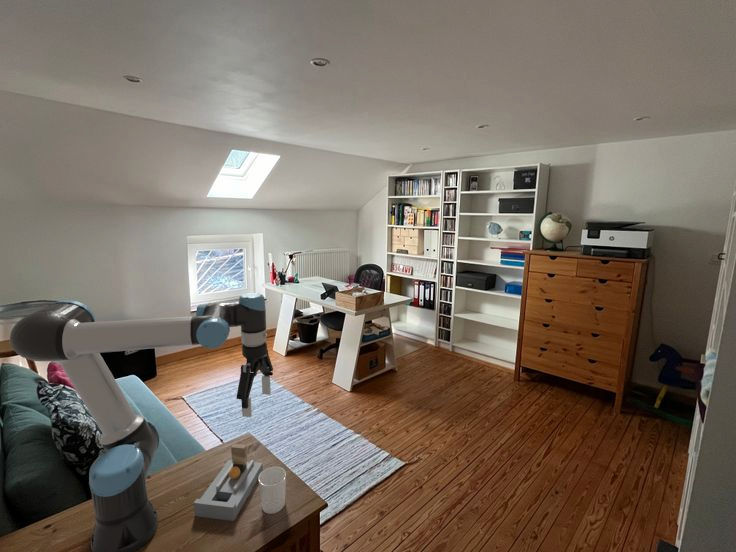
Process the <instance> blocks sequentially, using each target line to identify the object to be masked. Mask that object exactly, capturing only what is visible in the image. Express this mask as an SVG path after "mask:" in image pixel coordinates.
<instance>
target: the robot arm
mask: <svg viewBox="0 0 736 552" xmlns="http://www.w3.org/2000/svg"><path fill="white" fill-rule="evenodd" d="M265 300H266V299H265V296H264V295H263V294H261V293H259V292H257V293H256V292H249V293H243V294H241V295H240V296H239V299H238V301H230V302H229V301H228V302H215V303H214V302H208V303H202V304H199V305H197V306H196V311H195V316H193V315H192V316H191V315H190V316H175V317H172V316H171V317H158V318H157V317H155V318H142V319H141V318H140V319H125V320H108V321H107V320H106V321H96V316H95V314H94V312H93V310H92V309H91V308H90V307H89V306H88V305H86V304H85V303H82V302H79V301H76V300H71V299H64V300H59V301H56V302H55V301H54V302H52V303H51V302H50V303H49V304H47V305H44V307H41V308H40V309H38V310H36V311H34V312H31V313H29V314H28V315H26V316H24V317H22V318H21V319H19V320H18V321H17V322H16V323H15V325H14V326H12V329H11V331H10V334H9V342H10V346H11V348H12V350H13V351H14V352H15V353H16V354H17V355H19V357H21V358H24V359H26V360H29V361H34V362H52V363H58V364H59V365H60V366H61V368H62V370H63V371H64V373H65V375H66V377H67V378H68V380H69V381H70V382H71V384H72V386H73V387H74V389H75V391H76V392H77V394H78V396H79V397H80V399H81V401H82V402H83V404H84V405H85V407H86V408H87V410H88V411H89V413H90V415H91V417H92V419H93V420H94V422H95V423H96V425H97V426H98V428H99V429H100V432H102V434H101V437H100V440H99V442H100V444H101V446H102V448H103V449H104V451H105V453H101V454H100V455H99V456H98V457H97V458H96V459H95V460H94V461H93V463H92V464H91V465H90V468H89V473H88V476H89V477H88V480H89V481H88V485H89V488H90V493H91V499H92V504H93V511H94V516H95V523H94V527H93V531H92V535H91V538H90V548H91V552H136V551H138V550H139V549H140V548H142V547H143V546H144V545H146V544H147V543H148V542H149V541H150V539H151V538H152V537H154V534H155V533H156V531H157V529H158V526H159V518H158V512H157V510H156V509H155V508H154V506H153V504H152V503H151V501H150V500H149V497H148V490H147V482H146V481H147V479H146V478H147V476H148V472H149V470H150V467H151V464H152V462H153V460H154V457H155V455H156V452H157V450H158V448H159V444H160V439H161V438H160V437H161V436H160V435H161V434H160V433H161V432H160V430H159V428H158V426H157V425H156V423H154V422H153V421H151V420H147V419H146V418H145V417H144V415H141V414H135V411H134V410H133V409H132V407H131V404H130V403H129V401H128V399H127V398H126V396H125V394H124V392H123V391H122V389H121V388H120V386H119V384H118V382H117V381H116V379H115V377H114V375H113V373H112V371H111V370H110V369H109V367H108V365H107V364H106V362H105V360H104V358H103V356H102V355H101V354H102V353H113V352H124V351H126V352H127V351H137V350H147V349H148V350H149V349H161V348H172V347H183V346H184V347H185V346H194V345H195V346H196V345H197V346H198V345H200V346H201V347H203V348H205V349H209V350H211V349H218V348H220V347H221V346H222V345H224V344H225V343H226V341H227V339H228V337H229V335H230V331H231V328H235V327H240V336H241V338H240V339H241V344H242V345H241V352H242V353H241V354H242V356H243V357H244V358H245V359H246V363H245V364H241V365H240V375H239V381H238V386H237V387H238V388H237V391H236V400H241V401H240V402H241V416H242V417H244V418H245V417H246V418H252V416H253V414H252V412H253V411H252V397H251V395H250V394H251V392H252V387H253V383H254V379H255V377H256V376H257V374H258V371H260V373H261V374H262V375H261V392H262V393H261V394H262V395H268V396H271V394H272V393H271V390H272V389H271V377H272V376H273V375H274V372H273V371H274V367H273V365H272V361H271V359H270V356H269V350H268V342H267V338H268V333H267V312H266V311H267V309H266V301H265Z"/></svg>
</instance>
